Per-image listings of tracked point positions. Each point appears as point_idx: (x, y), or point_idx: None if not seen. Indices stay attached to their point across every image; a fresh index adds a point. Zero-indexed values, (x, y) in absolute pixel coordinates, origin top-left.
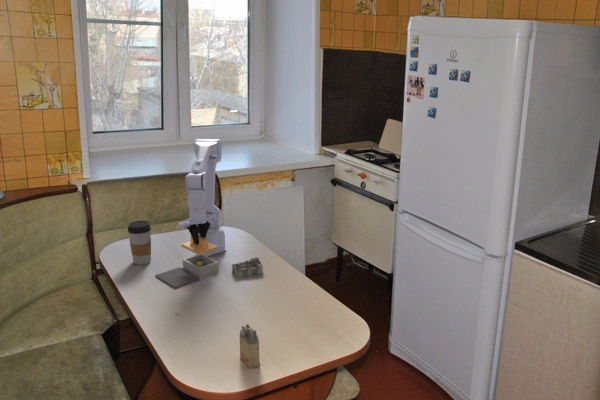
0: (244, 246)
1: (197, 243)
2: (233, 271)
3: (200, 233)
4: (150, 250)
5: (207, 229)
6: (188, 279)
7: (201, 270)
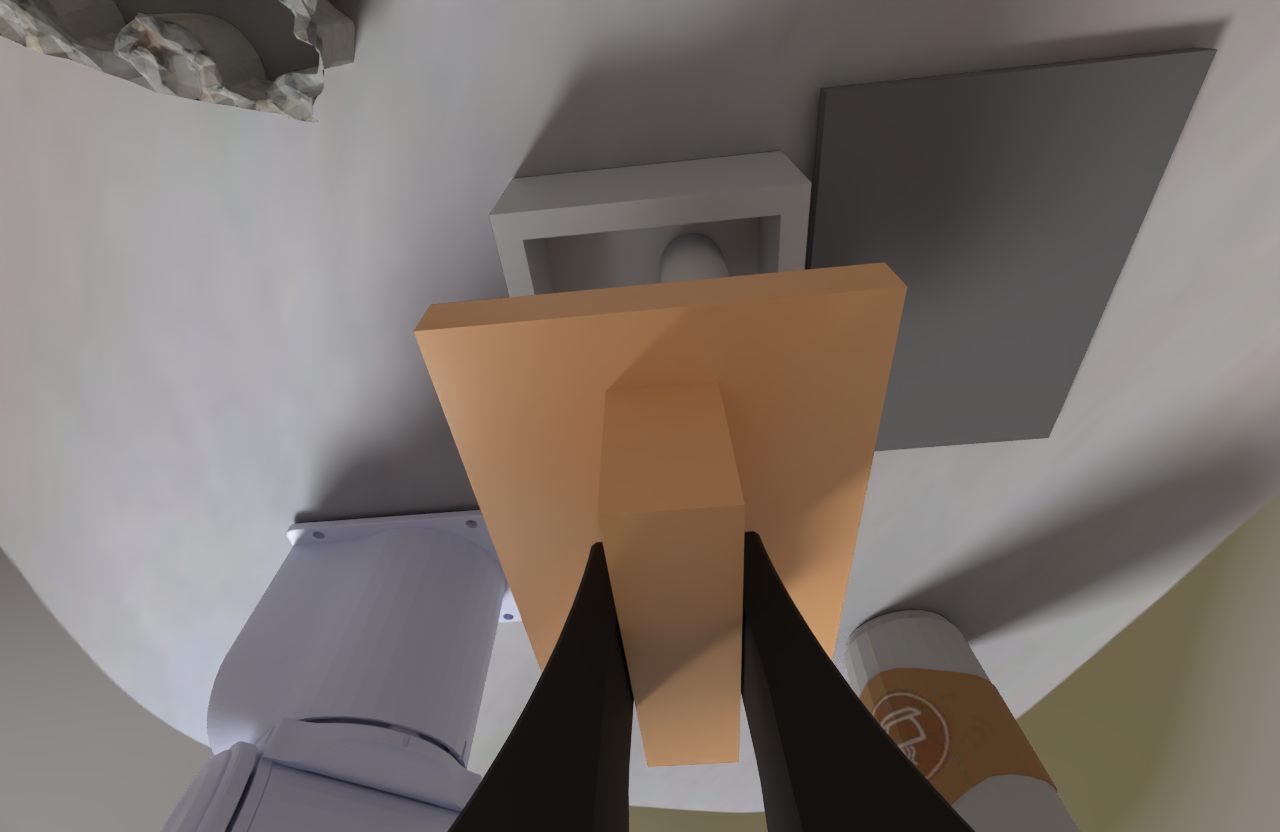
0: (110, 515)
1: (755, 547)
2: (341, 15)
3: (624, 746)
4: (894, 702)
5: (489, 826)
6: (942, 153)
7: (770, 176)
